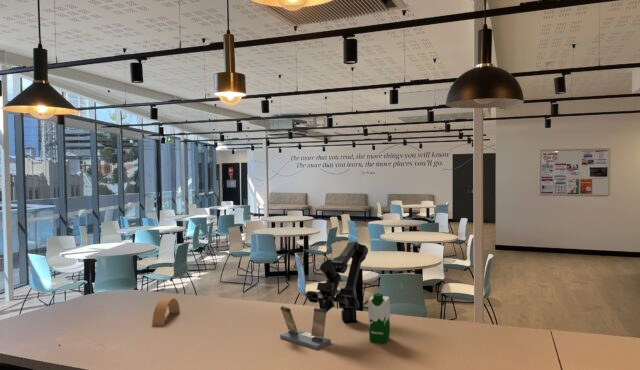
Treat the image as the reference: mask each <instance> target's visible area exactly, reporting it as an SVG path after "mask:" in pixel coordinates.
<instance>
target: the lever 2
mask: <svg viewBox="0 0 640 370" xmlns="http://www.w3.org/2000/svg"><path fill="white" fill-rule="evenodd" d="M326 312H327V310H326V309H320V307H319V308H318V307H314V309H313V318H312V326H311V336H317V337H324V336H325V328H326V319H327V313H328V312H327V313H326ZM324 338H325V337H324Z"/></svg>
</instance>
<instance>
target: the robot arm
mask: <svg viewBox="0 0 640 370" xmlns="http://www.w3.org/2000/svg"><path fill="white" fill-rule="evenodd" d="M368 248H369V247H368V246H366V245H365V244H361V243H359V242H357V241H349V242H347V244H346V246H345V247H344V249H343V250H342V252H341V253H340V254H339V255H338V256H336V257H333V258H332V259H331V258H330V259H328V258H327V259H326V261H324V262H322V263H321V264H320V266H319V269H320V271H321V273H322V275H323V276H324V277H325V278H326V281H325V282H317V286H316V287H317V288H316V290H317V291H319V294H318V293H317V291H315V290H314V291H312V290H308V291H306V293H305V297H306V299H307V300H308V301H309V302H310V303H312V304H313V303H314V304H316V303H318V304H319V308H320V309H326V310H327V312H326V314H327V313H328V311H330V310H332V309H333V308H336V303H338V306H339V309H342V310H341V311H340V312H341V313H340V315H341V320H342V322H343V323H345V324H347V323H358V320H357V310H359V309H360V302H359V300H358V298H357V297H358V294H357V291H356V288H357V287H356V286H357V282H358V280H359V279H358V278H359V273H360V269H361V266H362V265H361V264H362V263H363V262H364V261H365V260H366V258H367V255H368V254H369V249H368ZM350 260H351V261H350ZM349 261H350V266H349V265H348V263H349ZM348 266H349V271H348V275H347V279H346V284H345V286H344V288H340V292H339V290H338V288H339V284H340V282H342V280H343V279H342V276H341V274H345V273H346V272H347V270H348ZM338 292H339V293H338ZM337 293H338V294H337Z"/></svg>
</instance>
